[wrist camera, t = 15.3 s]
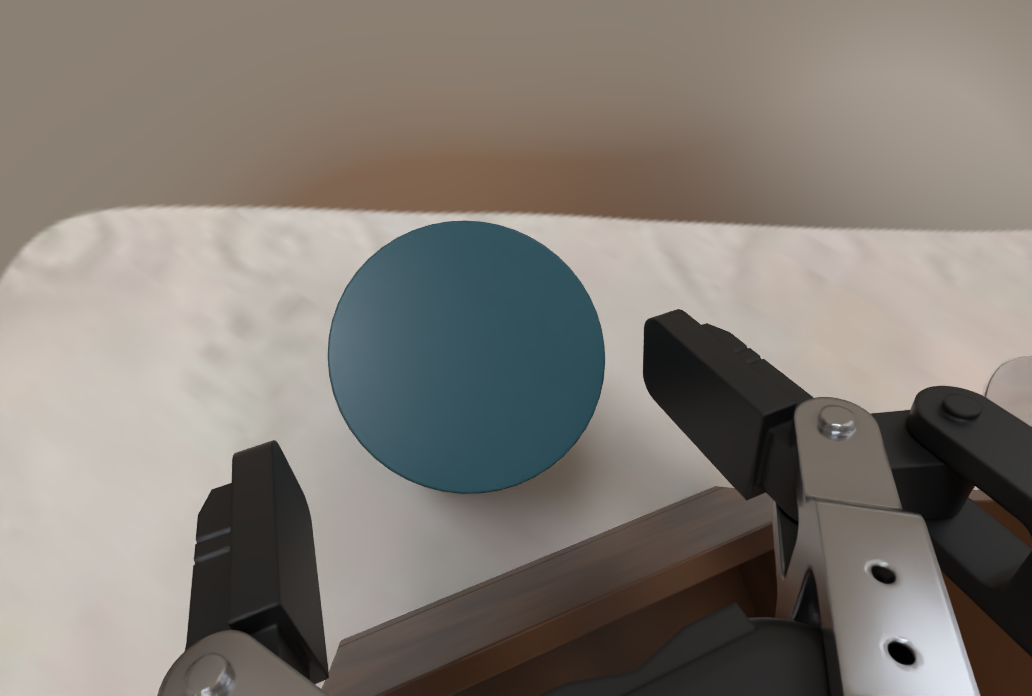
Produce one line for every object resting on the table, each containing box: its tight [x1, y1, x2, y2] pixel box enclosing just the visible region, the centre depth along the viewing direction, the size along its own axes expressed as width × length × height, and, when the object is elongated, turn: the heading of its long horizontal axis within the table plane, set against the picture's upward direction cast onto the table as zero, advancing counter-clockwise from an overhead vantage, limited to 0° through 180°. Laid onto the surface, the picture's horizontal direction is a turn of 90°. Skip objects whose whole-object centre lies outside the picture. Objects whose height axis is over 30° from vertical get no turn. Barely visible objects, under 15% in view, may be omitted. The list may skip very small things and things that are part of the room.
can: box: [328, 221, 605, 494], centre depth 18 cm, size 6×6×12 cm
